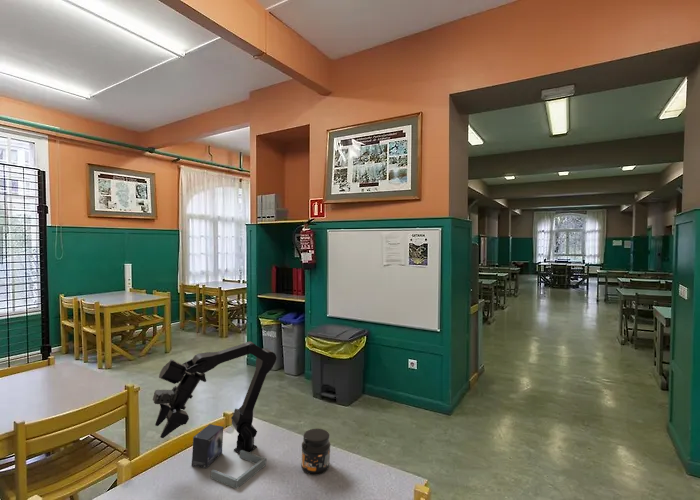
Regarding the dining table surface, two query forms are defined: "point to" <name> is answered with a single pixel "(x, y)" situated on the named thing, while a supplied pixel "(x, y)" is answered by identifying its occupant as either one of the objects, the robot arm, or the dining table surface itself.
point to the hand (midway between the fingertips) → (158, 431)
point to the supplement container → (315, 451)
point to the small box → (207, 446)
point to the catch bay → (245, 476)
